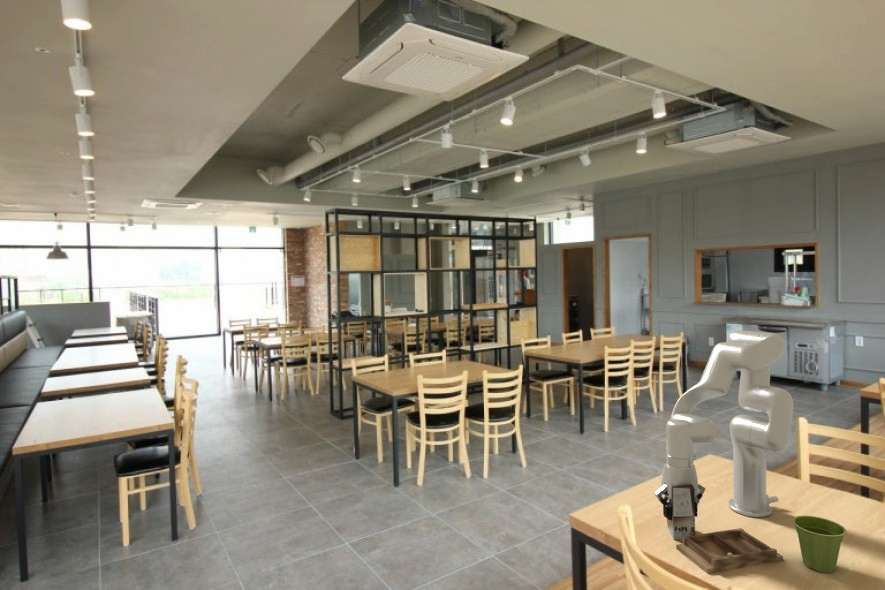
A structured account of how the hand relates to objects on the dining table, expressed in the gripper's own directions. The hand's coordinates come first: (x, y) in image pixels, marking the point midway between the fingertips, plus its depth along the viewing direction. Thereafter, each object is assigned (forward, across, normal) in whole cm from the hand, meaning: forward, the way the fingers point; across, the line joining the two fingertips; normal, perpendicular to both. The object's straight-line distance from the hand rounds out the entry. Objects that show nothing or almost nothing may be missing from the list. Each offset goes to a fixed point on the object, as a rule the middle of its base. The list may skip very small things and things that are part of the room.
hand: (680, 516), depth 162 cm
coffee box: (+6, 0, 0) cm, 6 cm away
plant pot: (+6, -24, +25) cm, 35 cm away
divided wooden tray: (+5, -5, +14) cm, 16 cm away
